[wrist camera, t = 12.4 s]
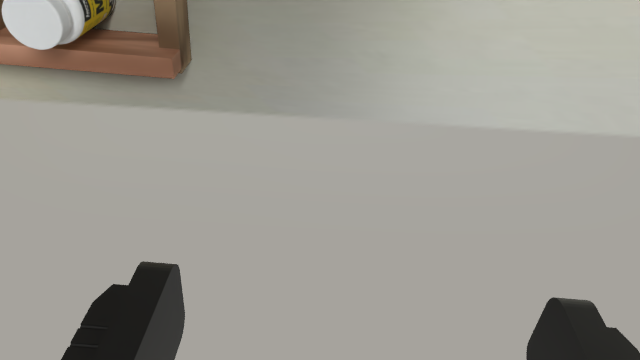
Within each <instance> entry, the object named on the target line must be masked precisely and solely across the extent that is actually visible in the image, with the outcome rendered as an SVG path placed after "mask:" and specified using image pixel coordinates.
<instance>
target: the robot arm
mask: <svg viewBox="0 0 640 360" xmlns="http://www.w3.org/2000/svg"><path fill="white" fill-rule="evenodd" d="M184 311H185V310H184V303H183V294H182V286H181V277H180V270H179V267H178V265H177V264H165V263H153V262H141V263H140V264H139V265H138V267H137V269H136V271H135V273H134V275H133V277H132V279H131V281H130V283H129V285H116V284H113V285H112V286H111V287H109V288H108V289H107V290H106V291H105V292H104V293H103V294H101V295H100V296H99V297H98V298H97V299H96V300H95V301H94V302H93V303H92V305H91V307H90V308H89V310H88V312H87V314H86V315H85V317H84V319H83V321H82V323H81V327H80V328H79V329H78V330H77V332H76V334H75V335H74V337H73V339H72V341H71V345H70V347H68V348H67V350H66V352H65V353H64V355H63V357H62V359H61V360H174V359H175V356H176V353H177V350H178V347H179V344H180V341H181V338H182V334H183V328H184V320H185V312H184ZM527 360H640V353H639V351H638V350H637V349H636V348H635V347H634V346H633V345H632V344H631V343H630V342H629V341H628V340H627V339H626V338H625V337H624V336H623V335H622V334H621V333H620V332H619V331H618V330H617V329H616V328H609V327H606V325H605V323H604V321H603V319H602V318H601V316H600V314H599V312H598V310H597V308H596V307H595V305H594V304H593V303H592V302H590V301H587V300H576V299H565V298H551V299H550V300H549V301H548V302H547V304H546V306H545V308H544V310H543V312H542V314H541V317H540V319H539V321H538V323H537V325H536V327H535V329H534V331H533V334H532V335H531V338H530V340H529V342H528V346H527Z"/></svg>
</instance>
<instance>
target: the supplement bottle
mask: <svg viewBox="0 0 640 360" xmlns="http://www.w3.org/2000/svg"><path fill="white" fill-rule="evenodd" d="M114 5H115V0H4V1H3V4H2V17H3V21H4V23H5V25H6V27H7V29H8V30H9V32H10V33H11V34H12V35H13V36H14V37H15V38H16V39H17V40H18V41H19V42H21V43H22V44H24V45H26V46H28V47H30V48H34V49H38V50H46V49H50V48H53V47H55V46H56V45H58V44H67V43H70V42H72V41H74V40H76V39H77V38H79V37H80V36H81V35H83V34H84V33H86V32H87V31H89V30H90V29H91V28H93V27H94V26H96V25H97V24H98V23H100V22H101V21H103V20H104V19H106V18H107V17H108V16H109V15H110V14H111V12H112V10H113V8H114Z"/></svg>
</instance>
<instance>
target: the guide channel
mask: <svg viewBox="0 0 640 360" xmlns="http://www.w3.org/2000/svg"><path fill="white" fill-rule="evenodd" d="M3 1H4V0H0V64H8V65H20V66H31V67H43V68H55V69H67V70H79V71H90V72H102V73H114V74H126V75H138V76H149V77H161V78H173V79H174V78H175V77H176V75H177V74H178V73H182V72H183V71H184V70H185V68H186V67H187V65H188V64H189V63H190V61H191V49H190V36H189V23H188V10H187V0H154V6H155V15H156V24H157V33H158V34H148V33H136V32H125V31H113V30H101V29H90V30H89V31H87V32H86V33H84V34H83V35H81V36H80V37H79V38H77V39H76V40H74V41H72V42H70V43H67V44H58V45H56V46H55V47H53V48H50V49H46V50H38V49H34V48H30V47H28V46H26V45H24V44H22V43H21V42H19V41H18V40H17V39H16V38H15V37H14V36H13V35H12V34H11V33H10V32H9V30H8V29H7V27H6V25H5V23H4V21H3V17H2V4H3Z"/></svg>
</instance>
